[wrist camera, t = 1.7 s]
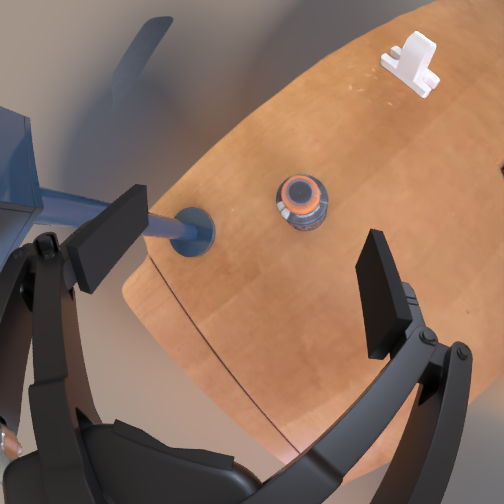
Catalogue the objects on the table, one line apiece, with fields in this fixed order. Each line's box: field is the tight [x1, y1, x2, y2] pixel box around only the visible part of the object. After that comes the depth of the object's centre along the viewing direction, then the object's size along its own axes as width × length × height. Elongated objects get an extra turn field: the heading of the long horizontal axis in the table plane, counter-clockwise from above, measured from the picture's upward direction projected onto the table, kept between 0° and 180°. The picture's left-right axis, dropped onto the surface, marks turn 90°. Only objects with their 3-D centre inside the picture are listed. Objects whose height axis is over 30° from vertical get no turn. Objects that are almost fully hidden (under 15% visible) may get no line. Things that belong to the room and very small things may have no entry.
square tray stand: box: [0, 106, 215, 272], centre depth 26 cm, size 8×8×36 cm
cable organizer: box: [380, 31, 440, 98], centre depth 30 cm, size 5×10×10 cm, turn 43°
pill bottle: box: [276, 174, 328, 231], centre depth 34 cm, size 6×6×11 cm
